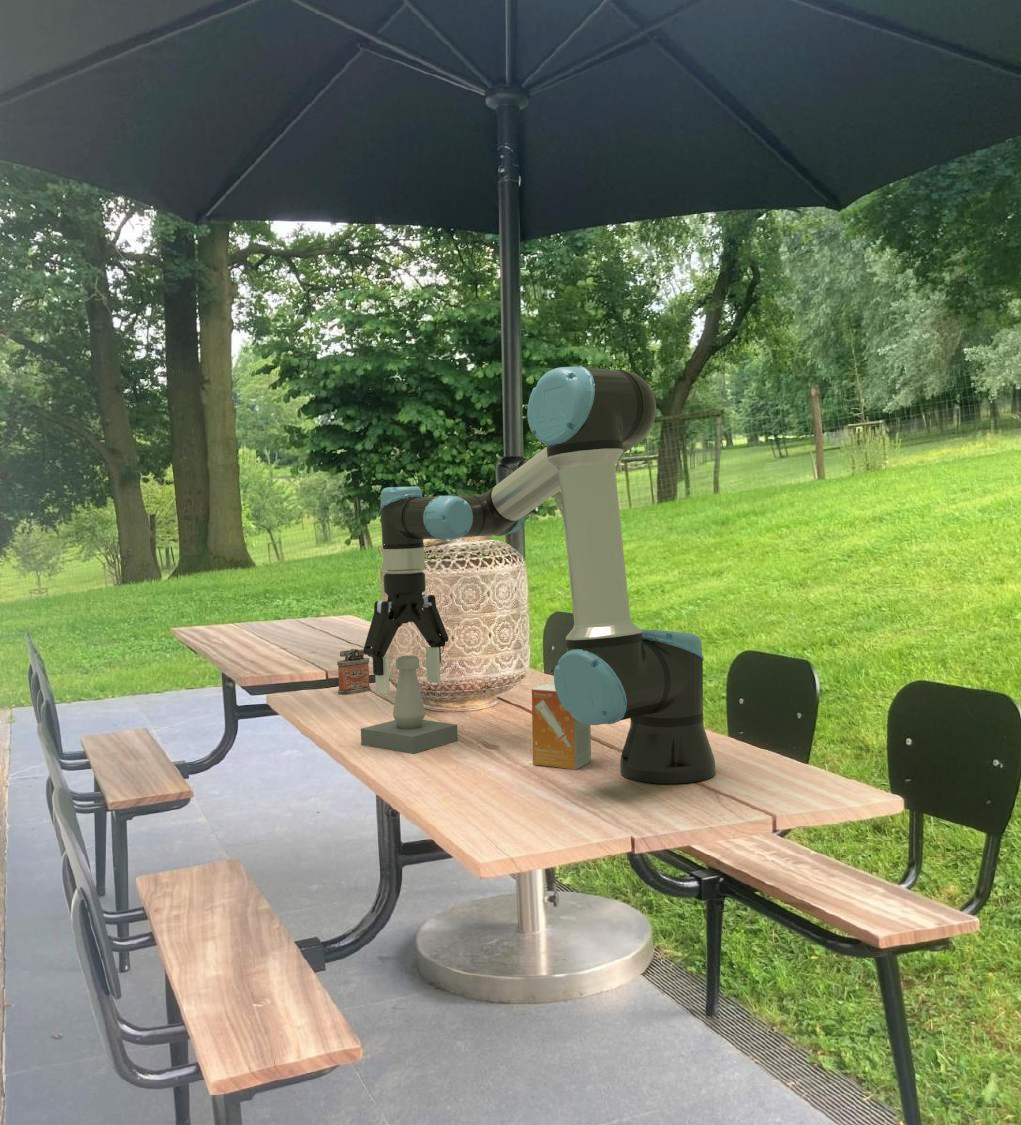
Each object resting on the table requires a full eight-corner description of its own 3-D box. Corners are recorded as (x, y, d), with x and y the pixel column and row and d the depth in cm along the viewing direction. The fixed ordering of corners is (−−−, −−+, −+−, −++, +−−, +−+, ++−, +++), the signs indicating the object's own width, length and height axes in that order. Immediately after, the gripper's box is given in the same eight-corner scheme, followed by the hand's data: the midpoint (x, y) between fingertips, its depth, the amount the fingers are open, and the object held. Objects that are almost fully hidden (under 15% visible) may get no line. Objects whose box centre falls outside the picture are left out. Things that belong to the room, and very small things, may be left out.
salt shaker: (420, 730, 213) (418, 658, 212) (389, 729, 215) (387, 658, 214) (428, 723, 219) (426, 654, 218) (399, 723, 220) (396, 653, 219)
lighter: (365, 689, 275) (363, 646, 274) (373, 690, 272) (371, 647, 272) (335, 693, 270) (333, 650, 269) (343, 695, 267) (341, 651, 267)
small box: (532, 765, 197) (530, 688, 197) (549, 757, 203) (547, 682, 202) (576, 770, 194) (574, 691, 193) (592, 761, 199) (590, 685, 198)
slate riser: (457, 740, 218) (457, 724, 218) (413, 753, 208) (412, 736, 208) (406, 732, 226) (405, 717, 226) (361, 744, 216) (360, 728, 216)
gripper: (434, 566, 227) (438, 676, 228) (339, 576, 207) (345, 696, 209) (464, 566, 222) (468, 678, 224) (370, 577, 203) (375, 699, 204)
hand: (409, 687), depth 216 cm, fingers open, 13 cm apart
